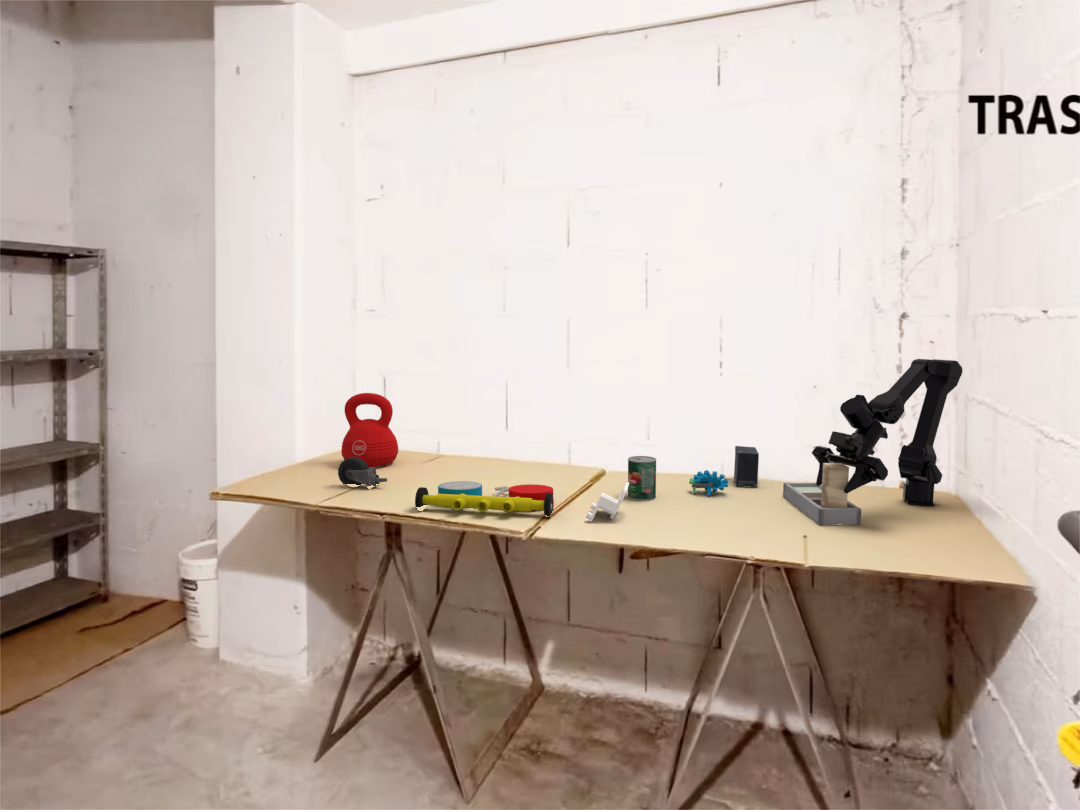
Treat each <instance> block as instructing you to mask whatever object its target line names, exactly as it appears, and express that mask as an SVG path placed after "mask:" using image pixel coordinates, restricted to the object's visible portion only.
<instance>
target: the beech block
mask: <svg viewBox="0 0 1080 810" xmlns="http://www.w3.org/2000/svg"><path fill="white" fill-rule="evenodd" d="M849 474H850V466H848V465H844V464H842V463H823V476H822V496H821V506H822V507H823V508H847V500H848V497H849V496H848V494H849V493H847V494H846V493H845V492H844V489H845V487H846V485H847V483H848V482H849V477H850V476H849Z"/></svg>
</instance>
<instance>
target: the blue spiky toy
mask: <svg viewBox="0 0 1080 810" xmlns="http://www.w3.org/2000/svg"><path fill="white" fill-rule="evenodd" d="M729 482H730V480H729V479H728V478H727V477H726V476H725V474H722V473H720V474H719V476H718V471H715V470H713V471H712V474H711V473H710V471H709V470H704V471H703V472H702V471H698V472H697V473H696V474H693V478H692V477H690V478H689V481H688V484H690V485H691V487H692V491H691V494H692V495H696V489H704V491H706V492H707V493H706V497H708V496H710V497H711V495H712V492H717V491H718V489H719V490H720V491H724V490H725V488H728V487H729Z"/></svg>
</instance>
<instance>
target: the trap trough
mask: <svg viewBox="0 0 1080 810" xmlns="http://www.w3.org/2000/svg"><path fill="white" fill-rule="evenodd" d="M782 486H783V487H782V488H783V489H782V497H783V498H784V499H785V500H786V501H788V502H789V503H791V504H792V506H794V507H796V508H797V509H798V510H799V511H801V512H802V513H803V514H804V515H805V516H807V517H809V518H810V519H811V520H812V521H813V522H814V523H816V524H817V525H818V524H819V525H818V526H838V525H837V524H861V523H862V508H860V507H859V506H857V505H856V504H854V503H852V502H851V501H849V500H848V499H847V508H823V507H822V506H821V496H822V484H821V485H820V486H817V484H816V482H783V485H782ZM833 524H834V525H833Z"/></svg>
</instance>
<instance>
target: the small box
mask: <svg viewBox="0 0 1080 810" xmlns="http://www.w3.org/2000/svg"><path fill="white" fill-rule="evenodd" d="M734 449H735V450H734V452H735V453H734V466H733V467H734V469H733V470H734V472H733V480H735V481H734V485H735V484H736V485H735V487H740V486H750V487H749V488H757V487H758V478H759V463H760V462H759V460H760V459H759V456H760V454H759V452H758V450H757V448H756V447H755V446H742V445H735V446H734Z"/></svg>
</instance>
